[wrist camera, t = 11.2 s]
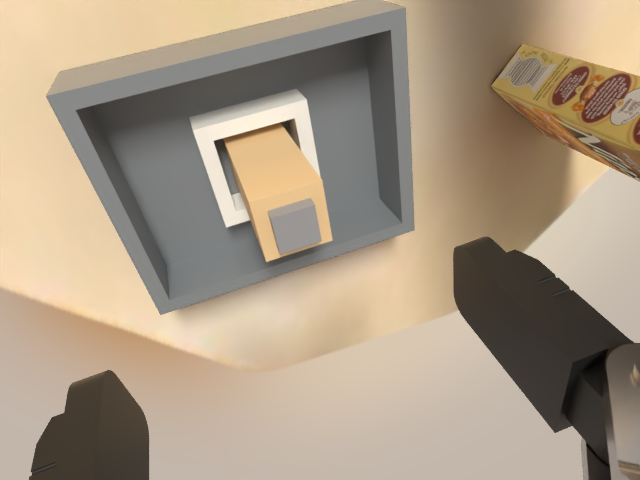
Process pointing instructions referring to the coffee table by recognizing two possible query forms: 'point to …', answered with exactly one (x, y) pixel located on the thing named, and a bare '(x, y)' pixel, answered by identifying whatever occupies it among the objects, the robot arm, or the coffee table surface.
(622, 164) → the candy box
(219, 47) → the box
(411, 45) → the coffee table surface
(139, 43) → the coffee table surface
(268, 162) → the connector
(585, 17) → the coffee table surface
